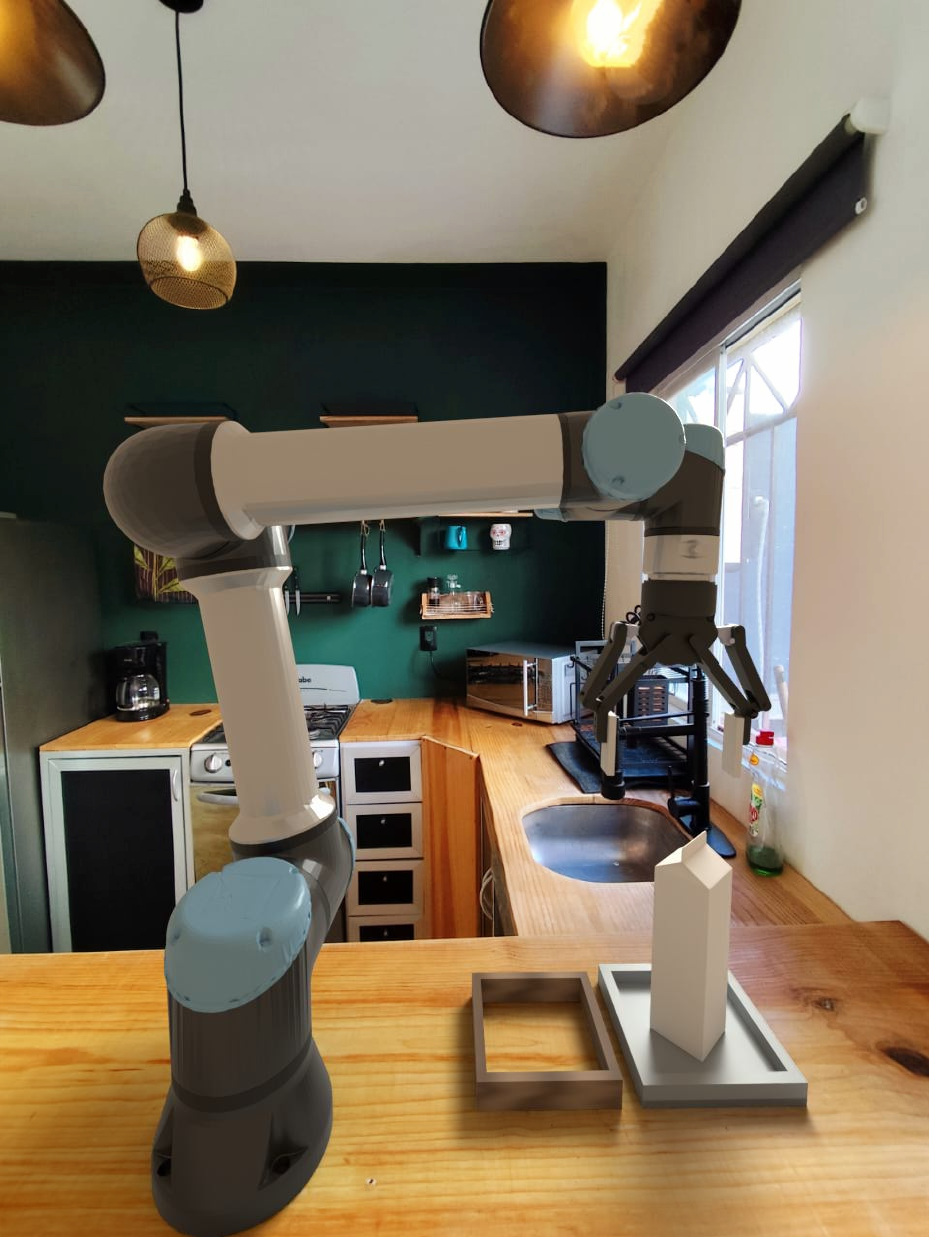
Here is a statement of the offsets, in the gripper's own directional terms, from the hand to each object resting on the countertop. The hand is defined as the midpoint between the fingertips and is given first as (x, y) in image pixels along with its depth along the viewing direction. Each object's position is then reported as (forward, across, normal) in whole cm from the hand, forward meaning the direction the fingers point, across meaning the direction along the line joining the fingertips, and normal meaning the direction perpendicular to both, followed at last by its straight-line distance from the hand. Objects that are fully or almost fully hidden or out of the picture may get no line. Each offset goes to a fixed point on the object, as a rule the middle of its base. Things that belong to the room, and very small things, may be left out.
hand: (669, 772), depth 58 cm
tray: (+30, +3, -1) cm, 30 cm away
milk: (+29, +3, -2) cm, 29 cm away
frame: (+30, -14, -3) cm, 33 cm away
